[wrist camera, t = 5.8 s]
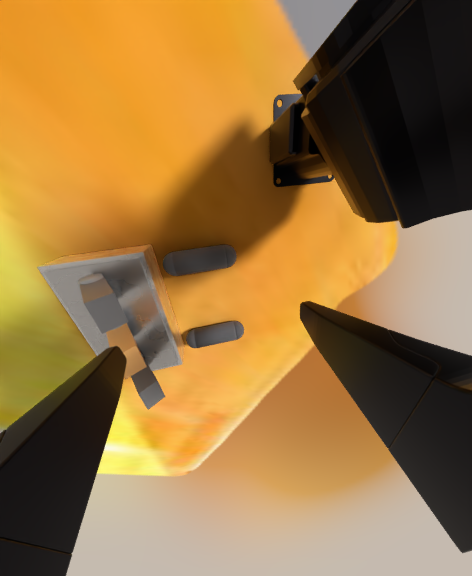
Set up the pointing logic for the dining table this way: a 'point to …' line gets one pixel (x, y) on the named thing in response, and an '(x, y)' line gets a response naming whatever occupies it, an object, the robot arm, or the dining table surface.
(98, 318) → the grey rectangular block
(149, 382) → the paddle
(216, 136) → the dining table surface
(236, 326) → the cable
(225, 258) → the cable
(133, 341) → the orange rectangular block
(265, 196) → the dining table surface
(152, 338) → the strip
